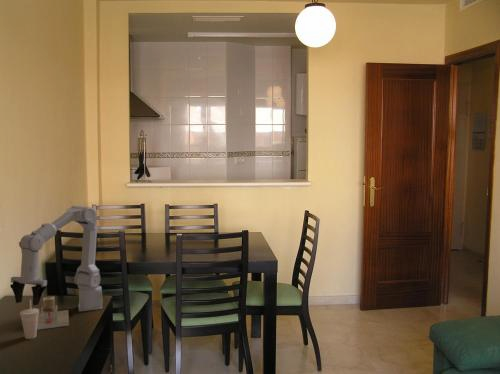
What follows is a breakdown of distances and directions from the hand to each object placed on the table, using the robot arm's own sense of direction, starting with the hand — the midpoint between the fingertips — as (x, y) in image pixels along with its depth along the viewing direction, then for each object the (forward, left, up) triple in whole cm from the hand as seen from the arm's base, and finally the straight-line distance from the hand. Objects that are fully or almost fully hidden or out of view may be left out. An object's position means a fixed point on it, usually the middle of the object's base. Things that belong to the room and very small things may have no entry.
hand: (27, 303), depth 171 cm
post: (-7, -7, -9) cm, 13 cm away
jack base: (-7, -7, -11) cm, 15 cm away
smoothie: (-1, +6, -11) cm, 12 cm away
